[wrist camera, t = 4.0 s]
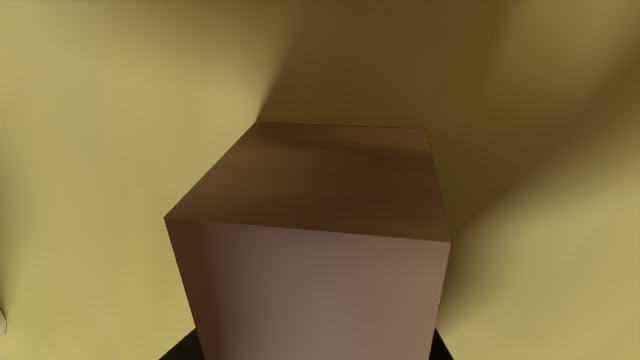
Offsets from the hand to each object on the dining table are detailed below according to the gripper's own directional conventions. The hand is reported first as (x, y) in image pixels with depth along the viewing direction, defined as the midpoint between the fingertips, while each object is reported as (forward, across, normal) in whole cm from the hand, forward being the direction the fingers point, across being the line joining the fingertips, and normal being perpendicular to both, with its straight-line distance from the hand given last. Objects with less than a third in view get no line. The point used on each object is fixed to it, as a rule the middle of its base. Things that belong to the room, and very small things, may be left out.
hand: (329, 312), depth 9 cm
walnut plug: (+2, 0, +1) cm, 2 cm away
